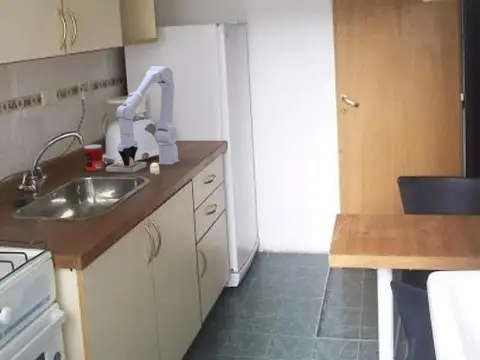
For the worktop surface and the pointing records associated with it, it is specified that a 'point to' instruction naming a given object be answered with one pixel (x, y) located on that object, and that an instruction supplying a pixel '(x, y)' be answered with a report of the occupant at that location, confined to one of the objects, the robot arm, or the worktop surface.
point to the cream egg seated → (120, 161)
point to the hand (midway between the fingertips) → (129, 164)
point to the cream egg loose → (154, 168)
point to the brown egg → (130, 164)
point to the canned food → (93, 157)
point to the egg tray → (121, 168)
